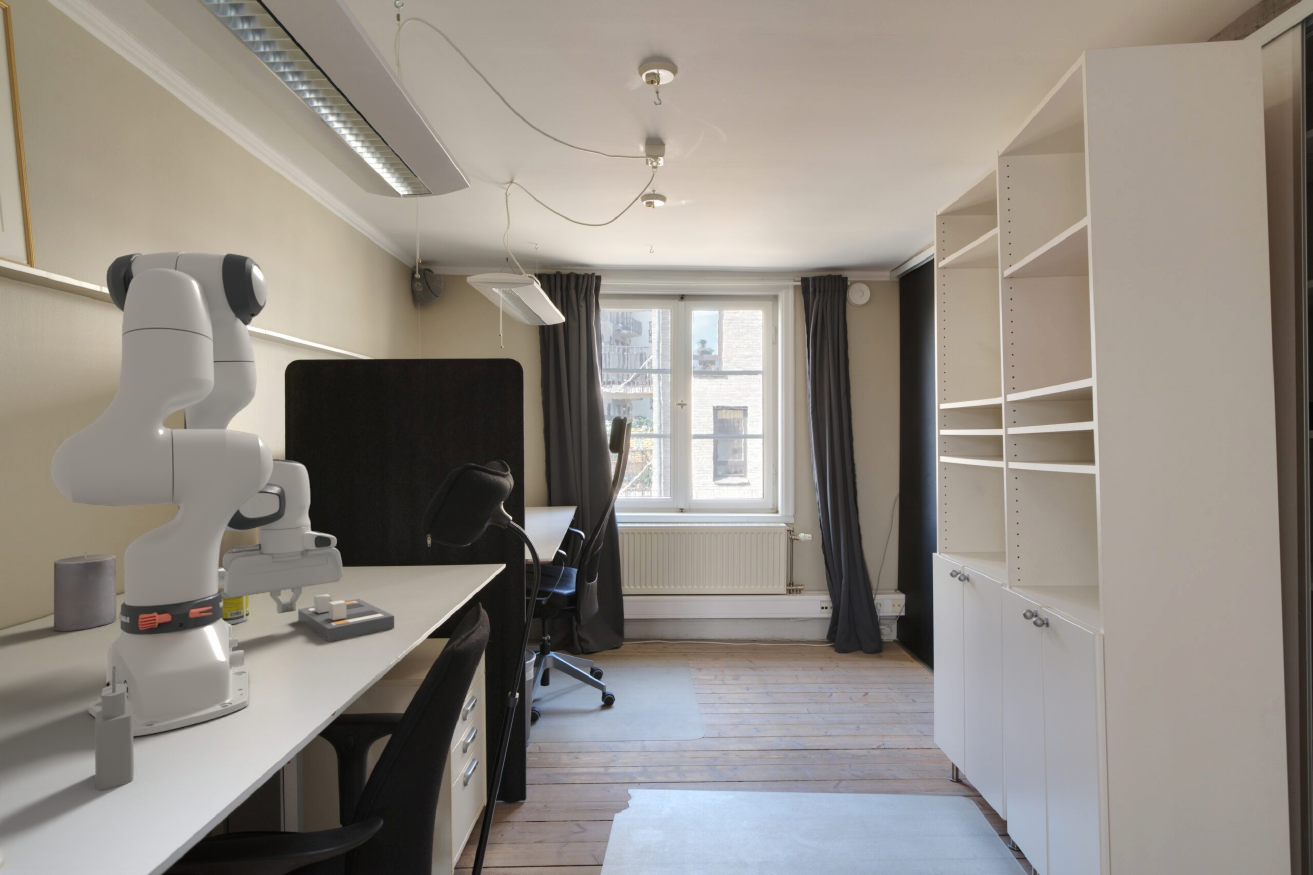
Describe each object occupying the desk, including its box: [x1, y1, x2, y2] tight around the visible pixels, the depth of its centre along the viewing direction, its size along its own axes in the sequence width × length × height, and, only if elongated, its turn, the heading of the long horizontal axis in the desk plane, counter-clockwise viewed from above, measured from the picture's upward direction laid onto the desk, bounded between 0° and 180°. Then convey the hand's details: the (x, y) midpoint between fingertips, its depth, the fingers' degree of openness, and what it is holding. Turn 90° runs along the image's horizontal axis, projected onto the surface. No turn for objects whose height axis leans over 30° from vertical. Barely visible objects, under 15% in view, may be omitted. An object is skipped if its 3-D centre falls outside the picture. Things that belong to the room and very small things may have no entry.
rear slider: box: [313, 593, 332, 613], centre depth 130 cm, size 3×2×3 cm
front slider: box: [329, 599, 346, 620], centre depth 125 cm, size 3×2×3 cm
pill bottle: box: [218, 567, 250, 625], centre depth 133 cm, size 6×6×11 cm
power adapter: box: [94, 666, 135, 791], centre depth 71 cm, size 3×5×12 cm, turn 39°
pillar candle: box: [53, 551, 117, 632], centre depth 132 cm, size 10×10×15 cm
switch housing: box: [297, 598, 395, 642], centre depth 129 cm, size 20×12×2 cm, turn 43°
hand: (286, 611), depth 126 cm, fingers closed
